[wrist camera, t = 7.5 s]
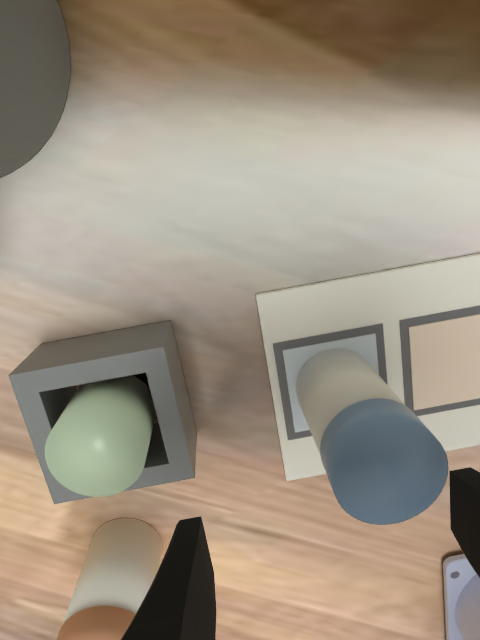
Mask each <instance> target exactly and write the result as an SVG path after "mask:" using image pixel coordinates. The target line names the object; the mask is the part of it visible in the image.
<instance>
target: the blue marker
mask: <svg viewBox="0 0 480 640" xmlns="http://www.w3.org/2000/svg"><path fill="white" fill-rule="evenodd" d="M295 387H296V396H297V399H298V402H299V404H300V407H301V409H302V412H303V414H304V417H305V419H306V421H307V424H308V426H309V429H310V431H311V434H312V436H313V439H314V441H315V443H316V446H317V448H318V451H319V453H320V456H321V461H322V464H323V467H324V469H325V472H326V474H327V476H328V479H329V481H330V484H331V486H332V489H333V491H334V494H335V496H336V498H337V500H338V502H339V504H340V505H341V507H342V508H343V509H344V510H345V511H346V512H347V513H348V514H350V515H351V516H352V517H354V518H356V519H358V520H360V521H363V522H366V523H370V524H377V525H386V524H394V523H399V522H402V521H405V520H408V519H410V518H413V517H414V516H416V515H418V514H420V513H421V512H423V511H424V510H425V509H427V508H428V507H429V506H430V505H431V504H432V503H433V502H434V501H435V500H436V498H437V497H438V496H439V494H440V493H441V491H442V489H443V487H444V485H445V482H446V479H447V475H448V460H447V455H446V453H445V450H444V448H443V446H442V445H441V443H440V442H439V441H438V440H437V438H436V437H435V436H434V435H433V434H432V433H431V432H430V430H429V429H428V428H427V427H426V426H425V425H424V424H423V423H422V421H421V420H420V419H419V418H418V417H417V416H416V415H415V414H414V412H413V411H411V410H410V409H409V408H408V407H406V405H405V404H404V403H403V402H402V401H401V400H400V399H399V398H398V396H397V395H396V394H395V393H394V392H393V391H392V390H391V388H390V387H389V386H388V385H387V384H386V383H385V382H384V381H383V379H382V378H381V377H380V376H379V375H378V374H377V373H376V371H375V370H374V369H373V368H372V367H371V366H370V365H369V363H368V362H367V361H366V360H365V359H364V358H363V357H362V356H360V355H359V354H357V353H356V352H353V351H351V350H347V349H339V348H337V349H329V350H325V351H322V352H320V353H318V354H316V355H314V356H313V357H312V358H310V359H309V360H308V361H307V362H306V363H305V364H304V366H303V367H302V368H301V370H300V372H299V374H298V376H297V380H296V386H295Z"/></svg>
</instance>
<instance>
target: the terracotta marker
mask: <svg viewBox="0 0 480 640" xmlns="http://www.w3.org/2000/svg"><path fill="white" fill-rule="evenodd" d="M162 549H163V546H162V540H161V538H160V536H159V534H158V533H157V531H156V530H155V529H154V528H153V527H152V526H150V525H149V524H147V523H145V522H143V521H141V520H138V519H133V518H120V519H115V520H112V521H109V522H107V523H105V524H103V525H102V526H101V527H100V528H98V530H97V531H96V532H95V533H94V535H93V537H92V540H91V543H90V546H89V549H88V551H87V554H86V557H85V560H84V563H83V566H82V569H81V572H80V575H79V578H78V581H77V584H76V587H75V590H74V593H73V596H72V599H71V602H70V605H69V608H68V611H67V614H66V617H65V620H64V623H63V625H62V627H61V629H60V631H59V634H58V637H57V640H121V638H122V637H123V635H124V634H125V632H126V630H127V629H128V627H129V625H130V623H131V622H132V620H133V618H134V616H135V615H136V613H137V611H138V609H139V607H140V605H141V603H142V602H143V600H144V598H145V596H146V594H147V592H148V590H149V588H150V586H151V584H152V582H153V580H154V578H155V576H156V574H157V571H158V569H159V567H160V564H161V557H162Z"/></svg>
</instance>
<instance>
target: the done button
mask: <svg viewBox="0 0 480 640" xmlns="http://www.w3.org/2000/svg"><path fill="white" fill-rule="evenodd" d="M155 417H156V410H155V406H154V402H153V398H152V395H151V391H150V389H149V388H148V387H147V386H146V384H145V383H143V382H142V381H141V380H140V379H138V378H137V377H135V376H133V375H130V376H124V377H119V378H113V379H108V380H102V381H97V382H91V383H86V384H81V385H80V386H79V388H78V389H77V391H76V392H75V394H74V395H73V397H72V398H71V400H70V402H69V403H68V405H67V406H66V408H65V410H64V411H63V413H62V414H61V416H60V417H59V419H58V421H57V422H56V424H55V425H54V427H53V429H52V430H51V432H50V434H49V435H48V438H47V440H46V444H45V460H46V464H47V466H48V468H49V470H50V472H51V474H52V475H53V476H54V478H55V479H56V480H57V481H58V482H59V483H60V484H62V485H63V486H64V487H66V488H67V489H69V490H71V491H73V492H75V493H78V494H81V495H85V496H92V497H104V496H110V495H114V494H117V493H119V492H122V491H124V490H125V489H127V488H128V487H130V486H131V485H132V484H133V483H134V482H135V481H136V480H137V479H138V478H139V476H140V475H141V473H142V471H143V468H144V465H145V461H146V457H147V452H148V448H149V443H150V439H151V435H152V430H153V426H154V421H155Z"/></svg>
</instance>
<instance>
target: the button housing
mask: <svg viewBox="0 0 480 640" xmlns="http://www.w3.org/2000/svg"><path fill="white" fill-rule="evenodd" d="M140 373H146V375H147V379H148V383H149V387H150V391H151V395H152V398H153V402H154V406H155V410H156V414H157V418H158V422H159V424H157V425H154V426H153V430H152V435H151V439H150V443H149V448H148V452H147V457H146V461H145V465H144V468H143V471H142V473H141V475H140V476H139V478H138V479H137V480H136V481H135V482H134V483H133V484H132V485H131V486H130V487H128V488H127V489H125V490H124V491H127V490H132V489H138V488H143V487H148V486H154V485H159V484H164V483H170V482H175V481H180V480H186V479H191V478H195V461H196V439H197V433H196V428H195V424H194V419H193V415H192V411H191V406H190V402H189V397H188V393H187V389H186V384H185V380H184V375H183V371H182V367H181V362H180V358H179V353H178V349H177V345H176V340H175V336H174V331H173V327H172V323H171V320H169V321H164V322H158V323H153V324H147V325H142V326H136V327H131V328H125V329H120V330H114V331H109V332H103V333H98V334H92V335H87V336H82V337H76V338H71V339H65V340H60V341H54V342H49V343H43V344H40V345H39V346H38V347H37V348H36V349H35V350H34V351H33V352H32V353H31V354H30V355H29V356H28V357H27V358H26V359H25V360H24V361H23V362H22V363H21V364H20V365H19V366H18V367H17V368H16V369H14V370H13V371H12V372H11V373H10V374H9V375H8V376H9V379H10V381H11V384H12V387H13V390H14V393H15V395H16V398H17V401H18V404H19V407H20V410H21V412H22V415H23V418H24V421H25V424H26V426H27V429H28V432H29V435H30V438H31V440H32V443H33V446H34V449H35V452H36V454H37V457H38V460H39V463H40V466H41V469H42V471H43V474H44V477H45V480H46V483H47V485H48V488H49V491H50V494H51V497H52V499H53V502H54V504H58V503H63V502H68V501H74V500H79V499H84V498H90V497H92V496H85V495H81V494H78V493H75V492H73V491H71V490H69V489H67V488H66V487H64V486H63V485H62V484H60V483H59V482H58V481H57V480H56V479H55V478H54V476H53V475H52V474H51V472H50V470H49V468H48V466H47V464H46V460H45V444H46V440H47V438H48V435H49V434H50V432H51V430H52V429H53V427H54V425H55V424H56V422H57V421H58V419H59V417H60V416H61V414H62V413H63V411H64V410H65V408H66V406H67V405H68V403H69V402H70V400H71V398H72V397H73V395H74V394H75V392H76V389H75V385H81V384H86V383H91V382H97V381H102V380H108V379H113V378H119V377H124V376H130V375H135V374H140Z"/></svg>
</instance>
